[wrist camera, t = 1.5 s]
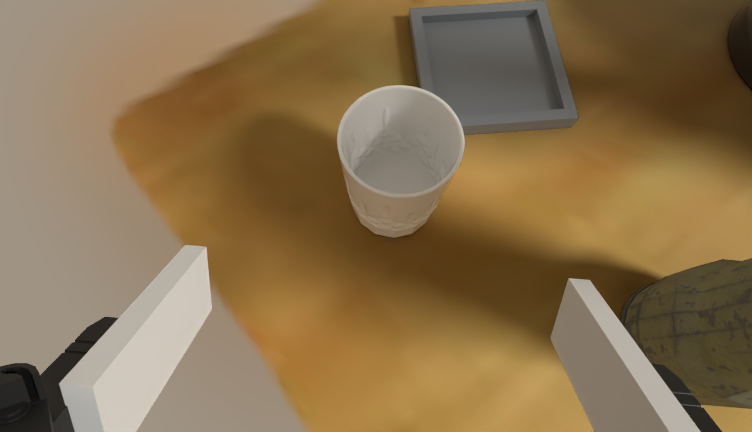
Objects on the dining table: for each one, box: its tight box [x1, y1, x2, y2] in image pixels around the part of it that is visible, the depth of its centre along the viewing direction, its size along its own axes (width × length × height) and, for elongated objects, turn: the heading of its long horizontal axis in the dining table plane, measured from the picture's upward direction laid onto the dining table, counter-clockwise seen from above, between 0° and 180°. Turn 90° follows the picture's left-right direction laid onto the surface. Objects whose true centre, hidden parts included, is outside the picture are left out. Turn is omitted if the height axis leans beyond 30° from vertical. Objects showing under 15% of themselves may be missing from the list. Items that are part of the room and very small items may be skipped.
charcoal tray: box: [408, 0, 579, 135], centre depth 41 cm, size 13×13×2 cm
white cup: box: [337, 85, 465, 238], centre depth 32 cm, size 8×8×10 cm
